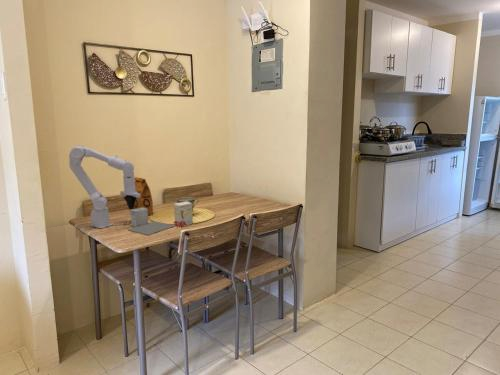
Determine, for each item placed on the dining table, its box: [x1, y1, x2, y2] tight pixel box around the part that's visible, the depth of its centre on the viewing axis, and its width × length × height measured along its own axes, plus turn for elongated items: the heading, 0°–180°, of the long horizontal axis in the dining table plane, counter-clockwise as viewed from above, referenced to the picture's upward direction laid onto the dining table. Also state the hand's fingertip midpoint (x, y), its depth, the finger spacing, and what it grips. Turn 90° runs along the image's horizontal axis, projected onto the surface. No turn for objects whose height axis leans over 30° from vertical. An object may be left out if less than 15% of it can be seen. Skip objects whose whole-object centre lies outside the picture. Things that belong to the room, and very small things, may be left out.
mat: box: [127, 220, 176, 236], centre depth 192 cm, size 16×18×1 cm
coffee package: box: [132, 176, 154, 216], centre depth 220 cm, size 10×12×22 cm
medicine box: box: [129, 208, 149, 228], centre depth 198 cm, size 8×4×9 cm, turn 141°
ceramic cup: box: [176, 196, 200, 215], centre depth 217 cm, size 13×10×10 cm
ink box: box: [173, 201, 194, 228], centre depth 197 cm, size 9×5×12 cm, turn 135°
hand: (131, 209), depth 201 cm, fingers closed
